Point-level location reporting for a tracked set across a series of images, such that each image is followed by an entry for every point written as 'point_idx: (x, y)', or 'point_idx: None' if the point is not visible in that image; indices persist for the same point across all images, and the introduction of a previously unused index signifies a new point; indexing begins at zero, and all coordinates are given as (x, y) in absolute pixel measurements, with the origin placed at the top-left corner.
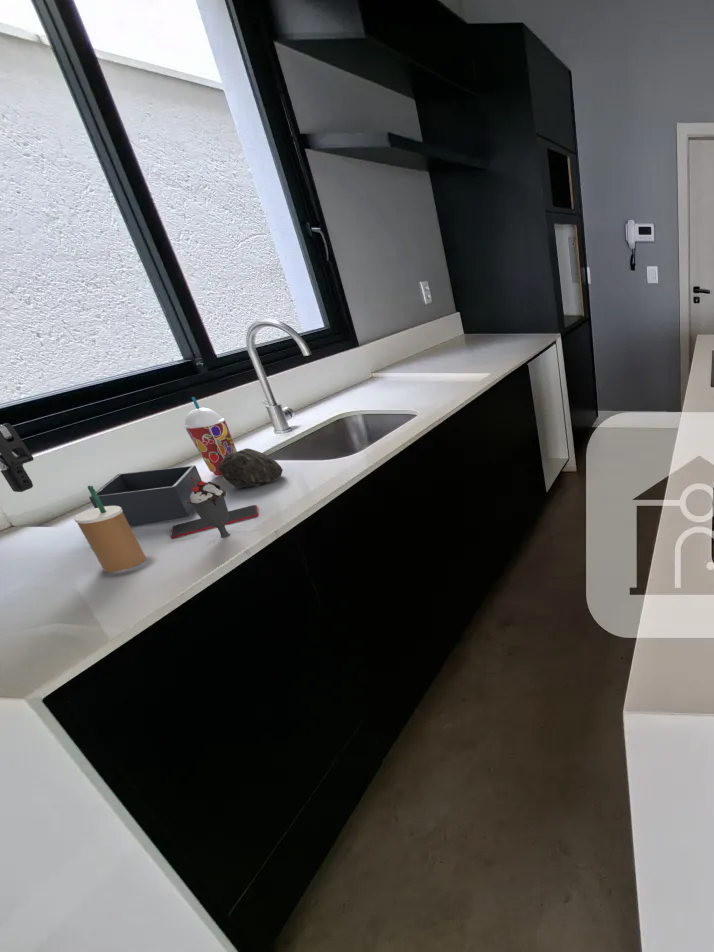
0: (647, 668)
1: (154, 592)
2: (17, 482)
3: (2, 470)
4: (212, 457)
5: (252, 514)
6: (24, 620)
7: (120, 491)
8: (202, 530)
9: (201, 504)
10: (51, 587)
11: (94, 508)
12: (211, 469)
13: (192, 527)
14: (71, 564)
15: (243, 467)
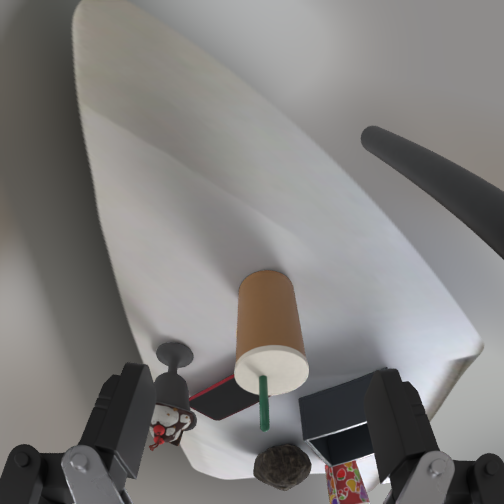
0: None
1: (142, 227)
2: (110, 397)
3: (109, 449)
4: (342, 473)
5: (190, 403)
6: (285, 136)
7: None
8: (232, 375)
9: None
10: (338, 233)
11: (298, 386)
12: None
13: None
14: (365, 294)
15: (270, 469)
